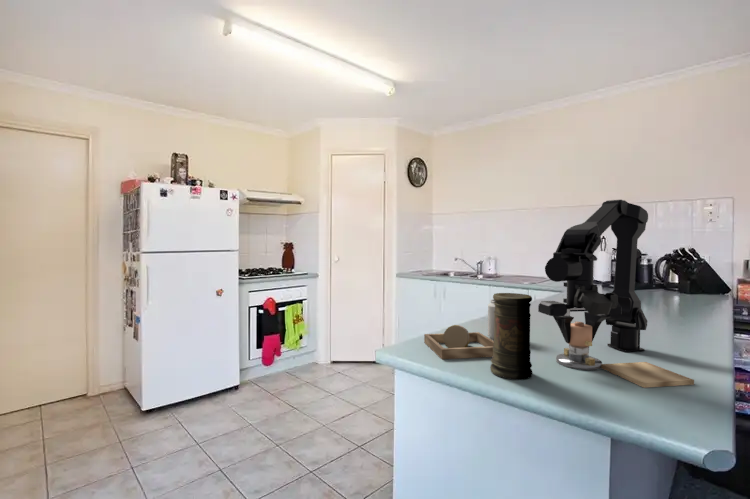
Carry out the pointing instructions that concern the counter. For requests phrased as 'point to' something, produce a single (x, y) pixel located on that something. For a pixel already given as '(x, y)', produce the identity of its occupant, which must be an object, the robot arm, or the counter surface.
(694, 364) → the counter surface
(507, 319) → the container
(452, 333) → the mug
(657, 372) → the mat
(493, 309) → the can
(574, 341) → the cap
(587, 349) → the metal flange
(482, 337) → the coaster frame
